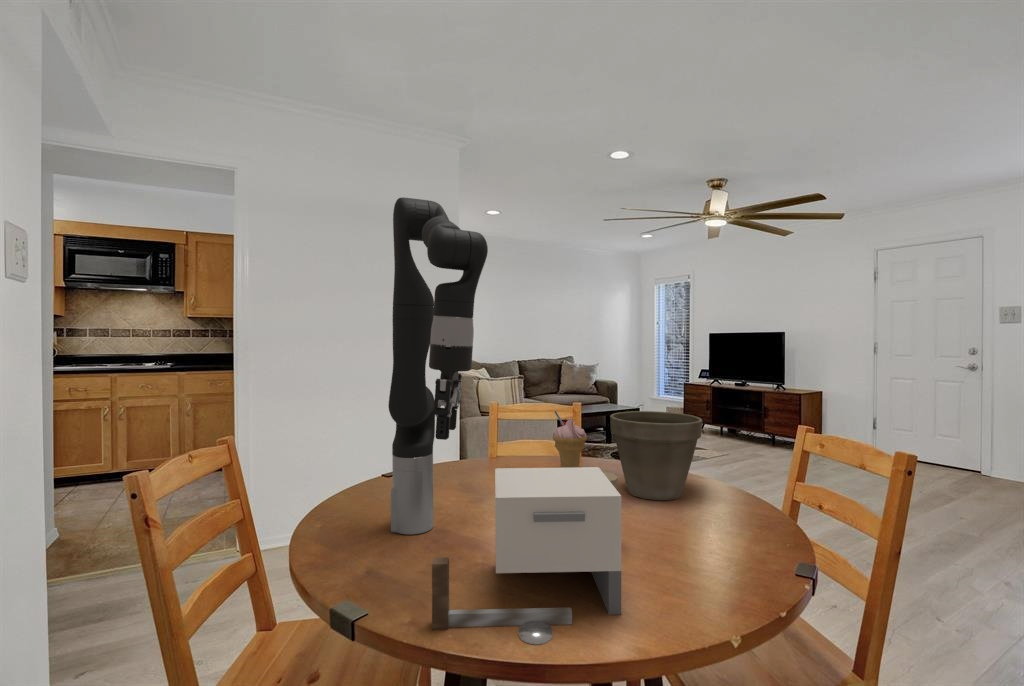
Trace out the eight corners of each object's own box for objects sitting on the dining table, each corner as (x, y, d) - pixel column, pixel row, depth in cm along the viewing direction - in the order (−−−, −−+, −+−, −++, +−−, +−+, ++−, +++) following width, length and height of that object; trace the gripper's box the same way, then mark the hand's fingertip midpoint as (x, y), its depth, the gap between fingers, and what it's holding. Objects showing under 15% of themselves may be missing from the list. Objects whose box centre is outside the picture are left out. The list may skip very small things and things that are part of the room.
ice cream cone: (558, 479, 161) (558, 414, 161) (548, 470, 172) (548, 409, 171) (592, 477, 163) (591, 413, 163) (580, 468, 174) (580, 408, 174)
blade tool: (432, 629, 79) (431, 564, 79) (434, 621, 82) (433, 557, 82) (572, 626, 80) (572, 561, 80) (570, 618, 83) (570, 555, 82)
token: (519, 646, 76) (519, 640, 76) (518, 627, 81) (518, 621, 81) (553, 646, 76) (553, 640, 76) (551, 627, 81) (550, 620, 81)
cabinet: (495, 620, 82) (495, 499, 82) (495, 566, 101) (495, 468, 100) (622, 617, 83) (622, 498, 82) (598, 564, 102) (598, 467, 101)
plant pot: (658, 476, 164) (658, 407, 164) (722, 498, 142) (722, 418, 142) (592, 487, 153) (592, 413, 152) (651, 513, 131) (651, 426, 130)
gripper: (437, 340, 100) (432, 425, 100) (422, 342, 86) (416, 441, 86) (476, 343, 100) (471, 428, 100) (468, 345, 85) (461, 444, 86)
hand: (446, 434), depth 93 cm, fingers open, 8 cm apart
